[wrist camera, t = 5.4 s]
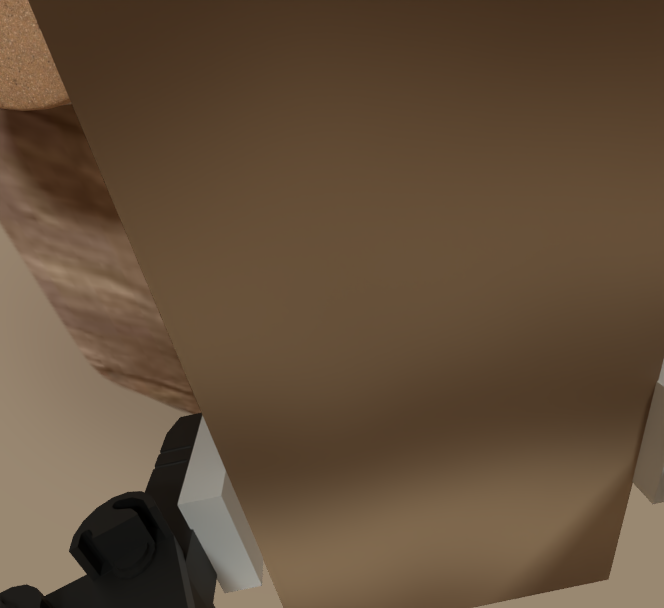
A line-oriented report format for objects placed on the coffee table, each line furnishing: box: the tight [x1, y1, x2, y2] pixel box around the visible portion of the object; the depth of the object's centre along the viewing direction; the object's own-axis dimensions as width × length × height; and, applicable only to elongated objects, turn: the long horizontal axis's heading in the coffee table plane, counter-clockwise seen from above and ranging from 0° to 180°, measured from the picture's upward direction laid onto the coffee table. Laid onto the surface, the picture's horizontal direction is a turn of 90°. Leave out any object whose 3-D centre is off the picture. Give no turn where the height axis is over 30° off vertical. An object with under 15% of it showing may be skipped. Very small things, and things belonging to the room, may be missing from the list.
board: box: [28, 0, 664, 608], centre depth 8 cm, size 14×8×2 cm, turn 10°
